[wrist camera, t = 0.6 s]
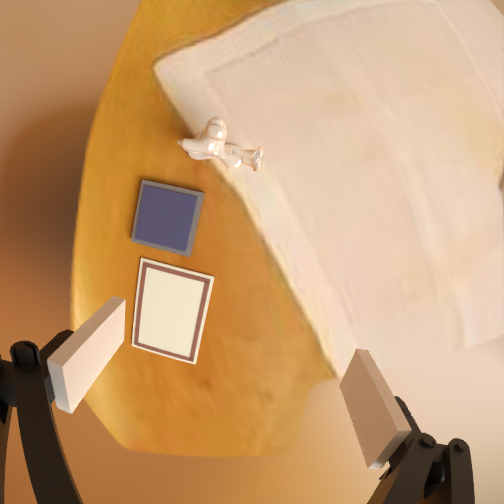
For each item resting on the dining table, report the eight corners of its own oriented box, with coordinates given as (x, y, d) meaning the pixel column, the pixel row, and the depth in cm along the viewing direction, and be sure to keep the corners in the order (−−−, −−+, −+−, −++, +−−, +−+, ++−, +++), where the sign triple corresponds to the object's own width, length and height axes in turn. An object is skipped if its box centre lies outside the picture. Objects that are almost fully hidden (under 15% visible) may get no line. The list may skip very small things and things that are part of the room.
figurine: (188, 130, 34) (158, 108, 22) (264, 134, 34) (268, 112, 22) (184, 168, 35) (152, 162, 23) (260, 173, 35) (263, 169, 23)
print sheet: (141, 257, 38) (140, 258, 37) (214, 276, 38) (214, 277, 38) (132, 344, 41) (131, 346, 40) (195, 363, 41) (195, 364, 41)
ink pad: (145, 179, 35) (141, 179, 34) (204, 192, 36) (203, 193, 34) (134, 240, 37) (130, 242, 36) (191, 255, 37) (189, 257, 36)
